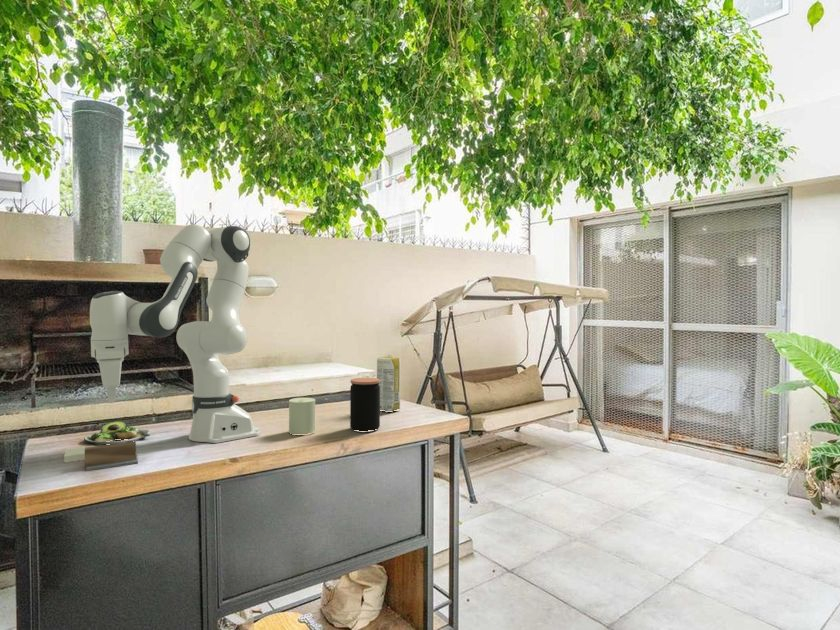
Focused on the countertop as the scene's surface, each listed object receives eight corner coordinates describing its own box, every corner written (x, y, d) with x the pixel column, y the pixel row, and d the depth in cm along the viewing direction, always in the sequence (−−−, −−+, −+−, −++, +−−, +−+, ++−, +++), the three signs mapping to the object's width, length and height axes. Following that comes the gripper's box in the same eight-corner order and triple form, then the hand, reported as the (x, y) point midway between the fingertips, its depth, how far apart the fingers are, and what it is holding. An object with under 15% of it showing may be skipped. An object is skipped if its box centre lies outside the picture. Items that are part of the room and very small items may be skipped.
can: (287, 436, 168) (287, 401, 167) (289, 429, 177) (289, 396, 176) (315, 435, 170) (315, 400, 169) (315, 428, 179) (315, 395, 178)
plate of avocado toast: (167, 434, 171) (167, 421, 170) (125, 449, 153) (125, 434, 153) (120, 430, 175) (120, 417, 175) (75, 444, 158) (74, 430, 157)
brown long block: (85, 463, 136) (85, 447, 136) (135, 456, 142) (135, 441, 142) (84, 466, 133) (84, 450, 133) (135, 459, 140) (135, 443, 140)
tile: (94, 459, 142) (94, 452, 149) (94, 452, 142) (94, 445, 149) (64, 463, 139) (65, 456, 145) (64, 456, 139) (65, 449, 145)
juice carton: (402, 410, 210) (403, 354, 209) (390, 414, 204) (390, 356, 203) (386, 407, 215) (386, 353, 215) (373, 410, 209) (374, 354, 209)
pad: (136, 456, 144) (136, 454, 144) (137, 463, 138) (137, 461, 138) (87, 463, 138) (87, 461, 138) (86, 470, 132) (86, 468, 132)
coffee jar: (371, 424, 186) (371, 376, 185) (385, 430, 177) (385, 380, 176) (345, 428, 180) (345, 378, 180) (358, 434, 171) (358, 382, 171)
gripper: (97, 346, 144) (99, 393, 145) (95, 354, 127) (97, 407, 128) (122, 345, 148) (124, 391, 148) (124, 352, 130) (126, 404, 131)
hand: (111, 398), depth 138 cm, fingers open, 8 cm apart
